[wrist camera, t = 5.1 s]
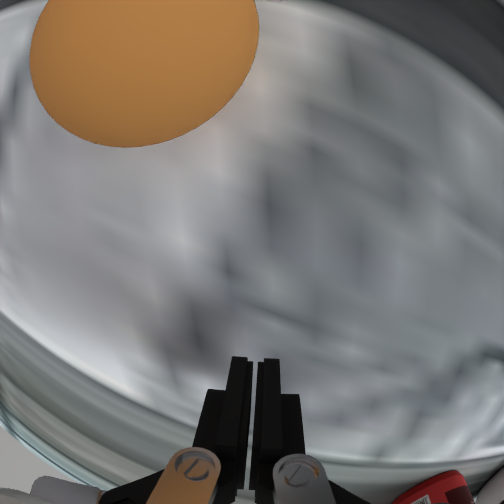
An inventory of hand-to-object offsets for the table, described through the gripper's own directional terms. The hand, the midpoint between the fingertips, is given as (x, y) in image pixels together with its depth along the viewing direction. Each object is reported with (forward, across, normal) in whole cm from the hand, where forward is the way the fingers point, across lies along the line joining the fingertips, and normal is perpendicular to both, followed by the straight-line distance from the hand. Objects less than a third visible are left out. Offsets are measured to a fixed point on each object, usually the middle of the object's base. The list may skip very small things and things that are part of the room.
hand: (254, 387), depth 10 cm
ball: (-2, +3, -11) cm, 12 cm away
